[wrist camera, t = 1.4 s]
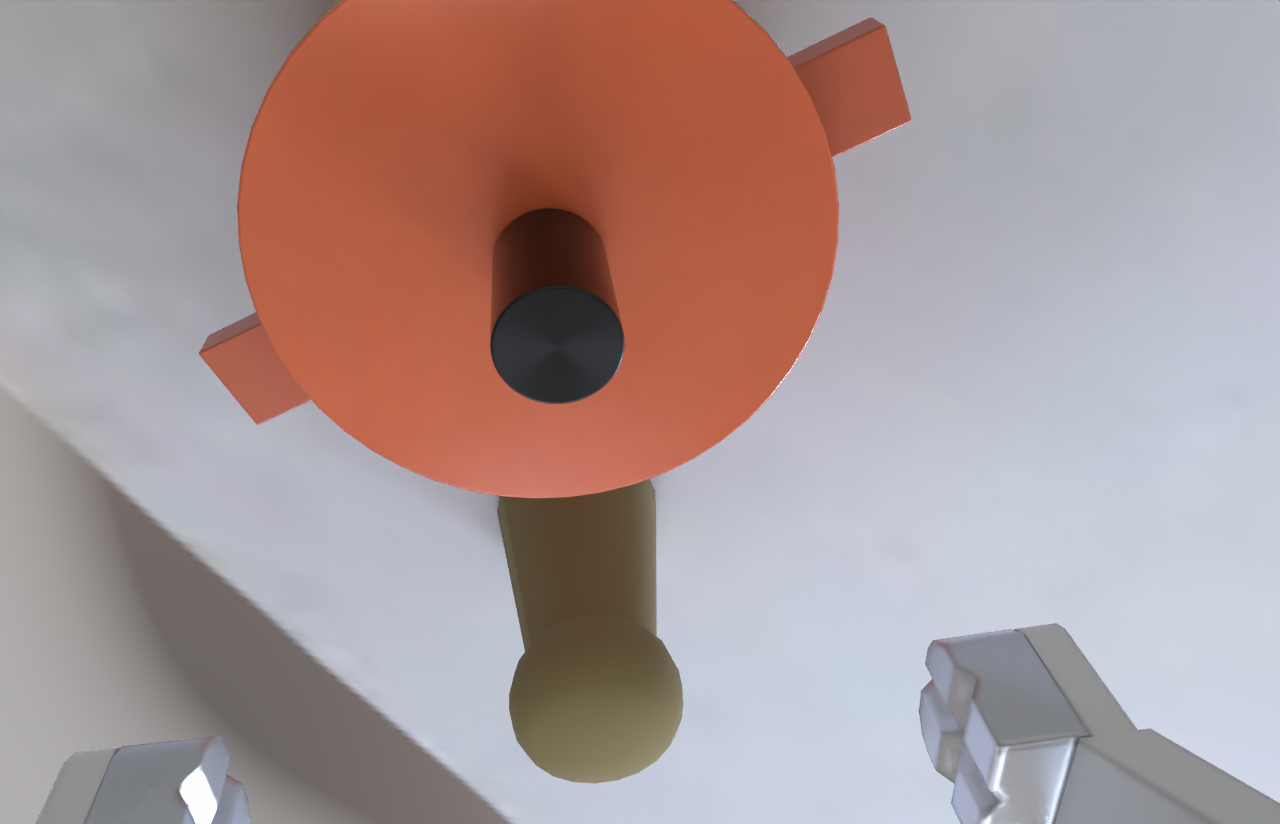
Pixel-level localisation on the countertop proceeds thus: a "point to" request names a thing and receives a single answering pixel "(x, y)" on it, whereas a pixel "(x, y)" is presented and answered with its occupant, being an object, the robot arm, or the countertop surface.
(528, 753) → the cork
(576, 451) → the pot lid
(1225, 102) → the countertop surface
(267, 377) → the pot
